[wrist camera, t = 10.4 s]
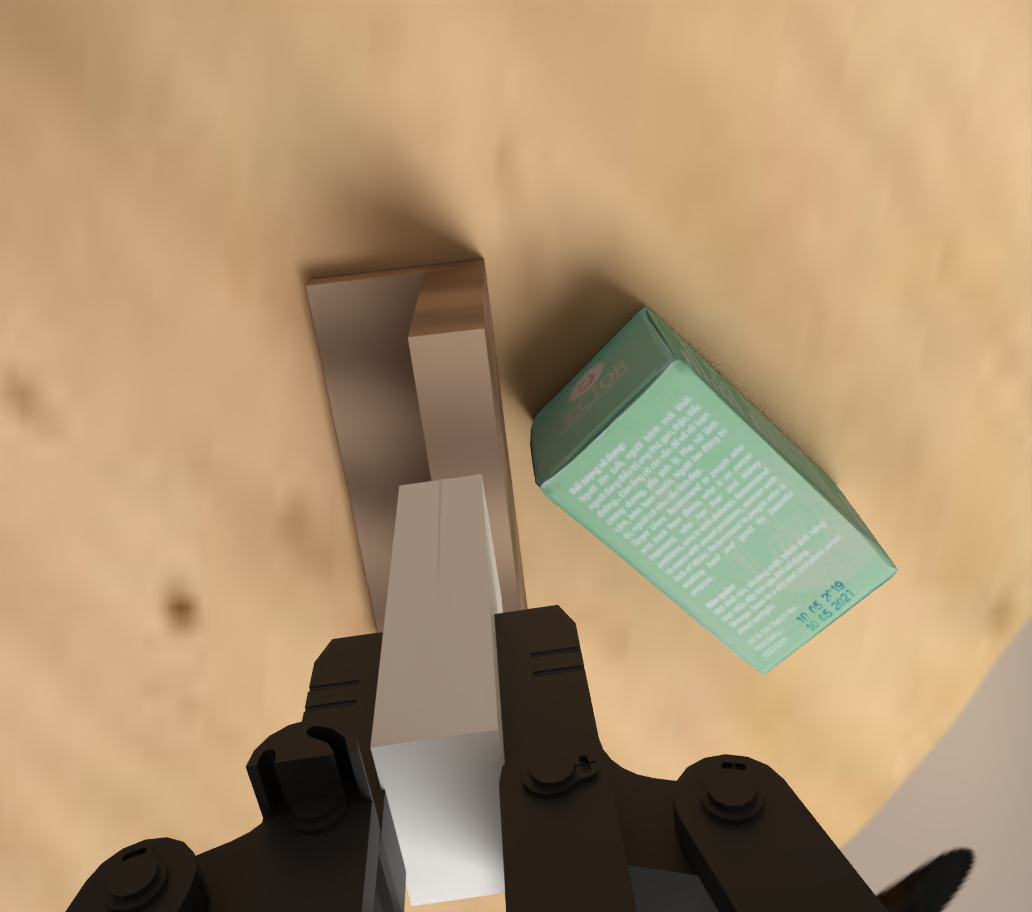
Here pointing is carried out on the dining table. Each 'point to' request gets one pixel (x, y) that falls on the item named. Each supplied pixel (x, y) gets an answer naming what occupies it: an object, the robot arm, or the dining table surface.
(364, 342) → the walnut angle bracket
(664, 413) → the box
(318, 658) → the robot arm
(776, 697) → the dining table surface
